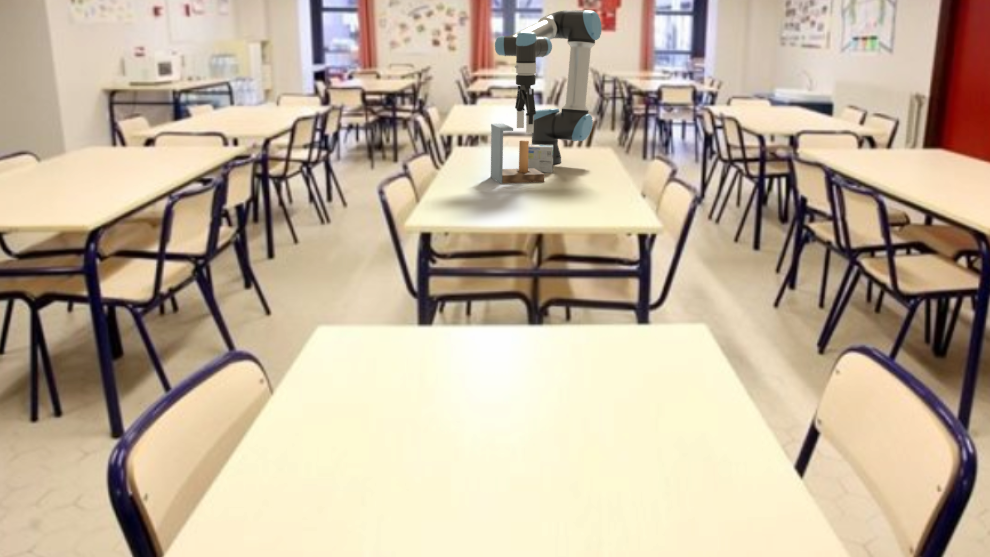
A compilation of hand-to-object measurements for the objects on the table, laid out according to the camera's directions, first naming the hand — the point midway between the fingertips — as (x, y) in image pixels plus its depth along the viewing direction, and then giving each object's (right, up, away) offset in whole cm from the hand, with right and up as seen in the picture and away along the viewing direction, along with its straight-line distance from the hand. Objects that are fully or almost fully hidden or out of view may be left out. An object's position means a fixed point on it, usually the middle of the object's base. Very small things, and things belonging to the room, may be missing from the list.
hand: (524, 130), depth 324 cm
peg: (0, -18, +5) cm, 19 cm away
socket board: (-2, -18, +5) cm, 19 cm away
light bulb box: (+7, -13, +24) cm, 28 cm away
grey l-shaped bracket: (-9, -19, +3) cm, 21 cm away
